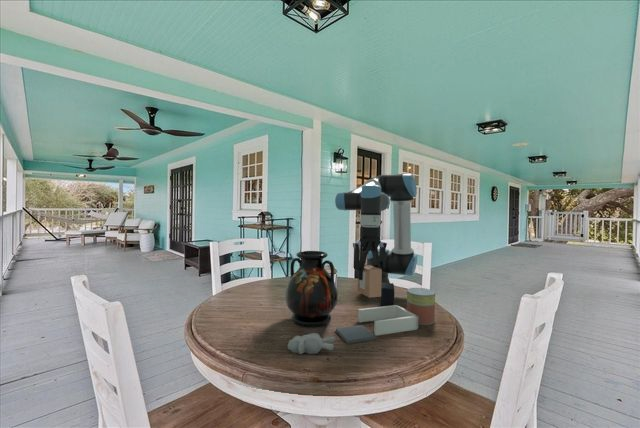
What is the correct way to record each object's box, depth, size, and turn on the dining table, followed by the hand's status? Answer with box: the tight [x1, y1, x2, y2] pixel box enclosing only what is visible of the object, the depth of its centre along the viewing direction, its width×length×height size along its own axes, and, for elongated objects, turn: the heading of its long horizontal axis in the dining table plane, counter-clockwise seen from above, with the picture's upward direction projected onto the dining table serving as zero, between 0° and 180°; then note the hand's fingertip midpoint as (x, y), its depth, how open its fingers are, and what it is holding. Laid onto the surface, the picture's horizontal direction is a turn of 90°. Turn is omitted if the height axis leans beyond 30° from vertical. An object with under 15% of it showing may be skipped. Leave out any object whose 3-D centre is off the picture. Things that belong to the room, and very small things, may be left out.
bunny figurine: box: [287, 332, 336, 355], centre depth 99 cm, size 10×5×15 cm
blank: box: [357, 264, 382, 298], centre depth 115 cm, size 5×9×10 cm, turn 20°
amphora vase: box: [284, 250, 339, 328], centre depth 125 cm, size 22×22×28 cm
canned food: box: [406, 287, 436, 326], centre depth 127 cm, size 11×11×12 cm
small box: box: [379, 282, 395, 307], centre depth 142 cm, size 11×6×10 cm, turn 168°
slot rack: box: [357, 304, 419, 337], centre depth 121 cm, size 19×14×5 cm
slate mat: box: [335, 324, 377, 344], centre depth 111 cm, size 11×11×1 cm
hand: (369, 287), depth 115 cm, fingers closed on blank, 5 cm apart
